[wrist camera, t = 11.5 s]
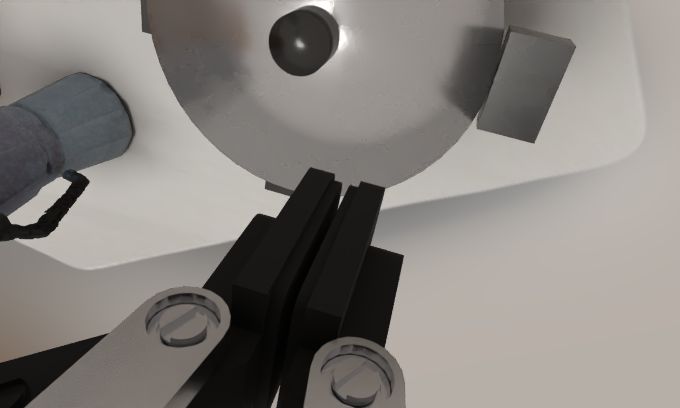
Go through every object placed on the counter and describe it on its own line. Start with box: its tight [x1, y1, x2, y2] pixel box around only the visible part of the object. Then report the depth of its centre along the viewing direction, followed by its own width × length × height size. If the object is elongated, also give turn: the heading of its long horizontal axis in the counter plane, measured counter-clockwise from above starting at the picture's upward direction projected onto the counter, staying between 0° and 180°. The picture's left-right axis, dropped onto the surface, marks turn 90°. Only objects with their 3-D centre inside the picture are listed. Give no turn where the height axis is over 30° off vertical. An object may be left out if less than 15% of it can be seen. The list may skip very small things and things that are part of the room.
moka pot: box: [0, 73, 132, 241], centre depth 39 cm, size 10×15×20 cm, turn 76°
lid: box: [147, 0, 576, 196], centre depth 25 cm, size 22×19×4 cm
